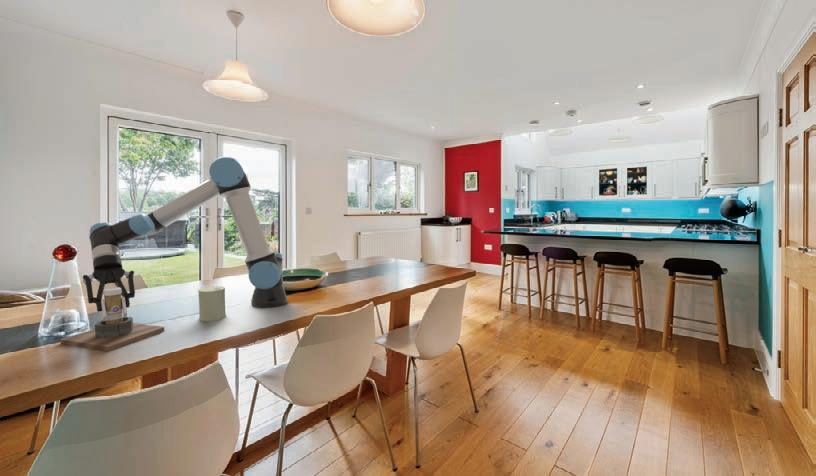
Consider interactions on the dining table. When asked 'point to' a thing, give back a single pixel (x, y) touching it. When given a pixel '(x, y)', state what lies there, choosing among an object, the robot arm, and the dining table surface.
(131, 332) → the bottle holder
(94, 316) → the dining table surface
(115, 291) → the sprinkles bottle
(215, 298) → the can
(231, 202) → the robot arm
